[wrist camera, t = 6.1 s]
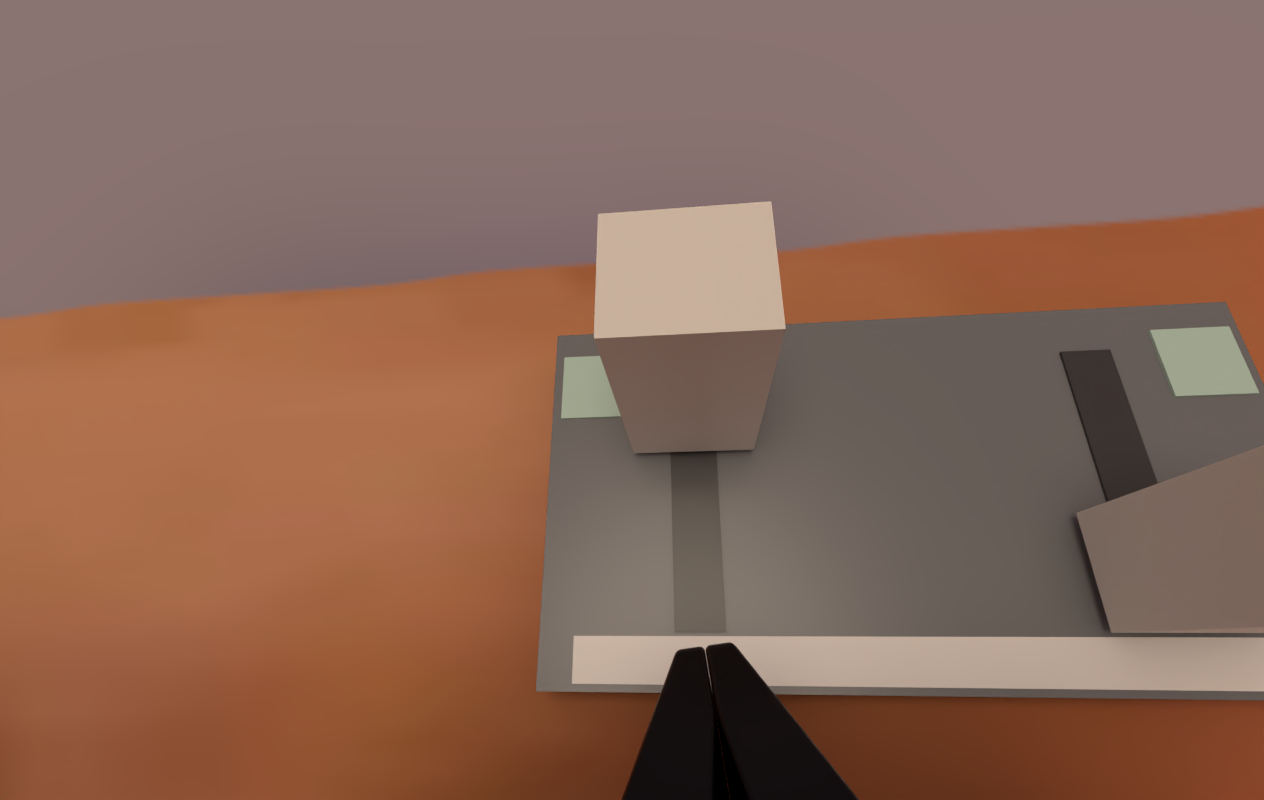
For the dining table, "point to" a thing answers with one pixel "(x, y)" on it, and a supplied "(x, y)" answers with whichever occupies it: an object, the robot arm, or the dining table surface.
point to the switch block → (899, 511)
